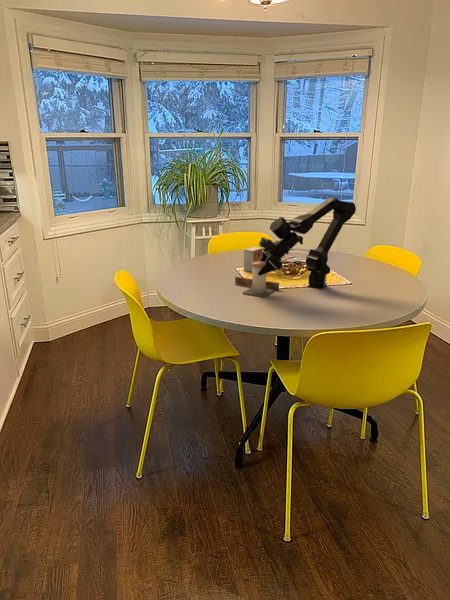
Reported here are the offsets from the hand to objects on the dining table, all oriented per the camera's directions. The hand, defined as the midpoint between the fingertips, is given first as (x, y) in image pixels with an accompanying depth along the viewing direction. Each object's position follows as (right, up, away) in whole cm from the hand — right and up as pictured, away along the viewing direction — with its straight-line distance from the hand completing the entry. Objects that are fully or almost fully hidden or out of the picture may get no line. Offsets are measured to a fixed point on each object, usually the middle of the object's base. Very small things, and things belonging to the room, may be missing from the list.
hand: (257, 271), depth 186 cm
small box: (0, +3, +37) cm, 37 cm away
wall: (+1, -6, +10) cm, 12 cm away
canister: (+1, -8, +3) cm, 8 cm away
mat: (+1, -8, +3) cm, 9 cm away
